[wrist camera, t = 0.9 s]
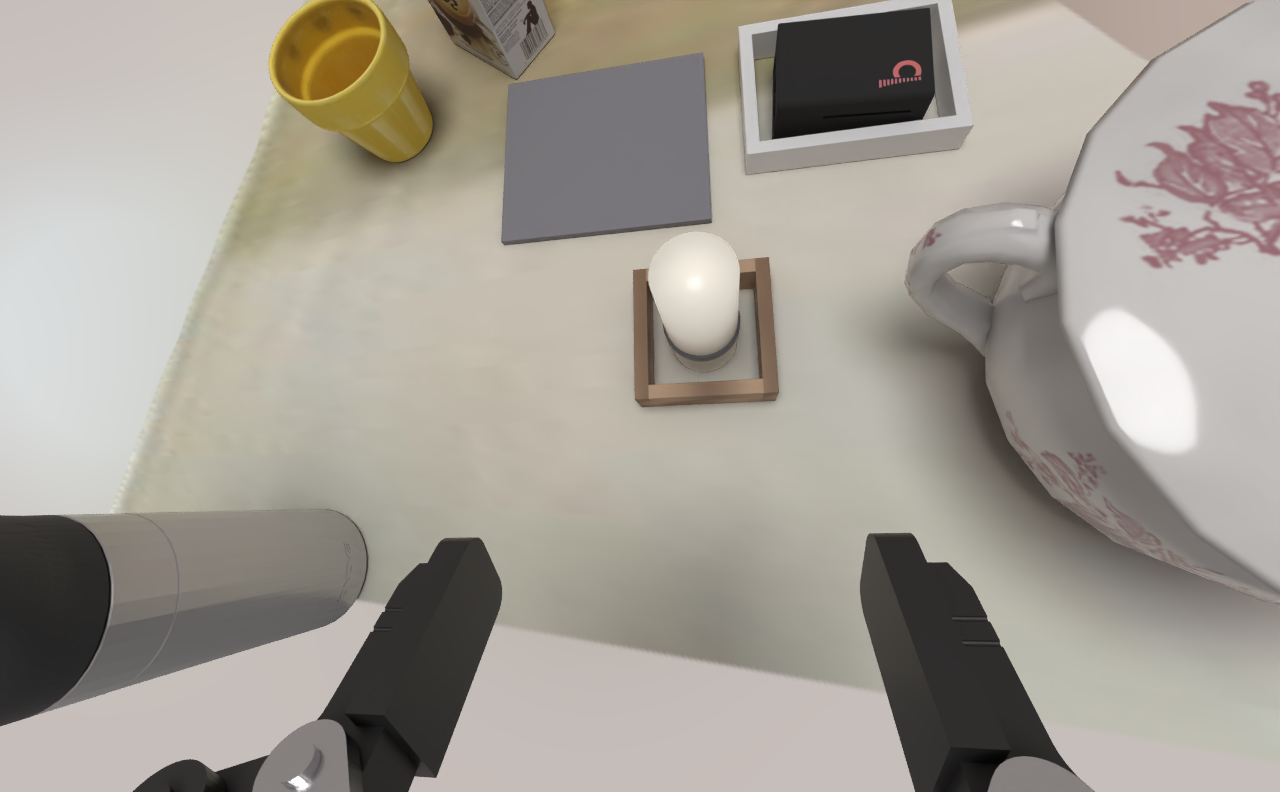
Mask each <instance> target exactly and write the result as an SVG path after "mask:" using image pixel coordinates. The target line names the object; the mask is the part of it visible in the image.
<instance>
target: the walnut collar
mask: <svg viewBox="0 0 1280 792" xmlns="http://www.w3.org/2000/svg"><path fill="white" fill-rule="evenodd" d="M738 262H739V267H740V280H739V289H751V288H754V300H755V315H756V330H757V345H758V360H759V375H760V379H748V380H730V381H712V382H694V383H675V384H657V385H654V345H653V299H652V297H653V295H652V292H651V290H650V286H649V281H648V272H649V269H639V270H633V294H634V370H635V400H636V401H637V402H638V403H639V404H640V405H641V406H642V407H650V406H671V405H692V404H713V403H734V402H755V401H775V400H776V397H777V395H778V393H779V387H778V374H777V360H776V347H775V333H774V320H773V306H772V293H771V279H770V266H769V257H766V258H755V259H744V260H738Z"/></svg>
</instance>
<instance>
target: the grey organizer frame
mask: <svg viewBox="0 0 1280 792" xmlns="http://www.w3.org/2000/svg"><path fill="white" fill-rule="evenodd" d="M920 8H930V15H931V32H932V48H933V65H934V81H935V95H936V101H937V108H938V114H939V118H932V119H925V120H917V121H910V122H902V123H895V124H887V125H880V126H872V127H864V128H857V129H849V130H842V131H834V132H827V133H819V134H812V135H804V136H797V137H789V138H781V139H774V140H766V141H760V140H759V127H758V113H757V100H756V86H755V73H754V60H756V59H762V58H769V57H775V49H776V39H777V29H778V24H779V23H788V22H797V21H807V20H816V19H826V18H835V17H845V16H854V15H863V14H873V13H882V12H892V11H901V10H911V9H920ZM738 59H739V74H740V89H741V104H742V119H743V134H744V149H745V164H746V175H748V174H756V173H764V172H772V171H780V170H789V169H797V168H805V167H813V166H821V165H829V164H838V163H846V162H854V161H862V160H870V159H879V158H887V157H895V156H903V155H911V154H920V153H928V152H936V151H944V150H952V149H959V147H960V146H961V144H962V143H963V141H964V139H965V138H966V136H967V135H968V133H969V132H970V130H971V129H972V127H973V126H974V124H973V118H972V113H971V107H970V101H969V96H968V90H967V84H966V79H965V73H964V67H963V62H962V56H961V50H960V45H959V39H958V33H957V28H956V22H955V16H954V11H953V5H952V0H890V1H884V2H879V3H873V4H867V5H861V6H855V7H849V8H843V9H838V10H832V11H826V12H820V13H814V14H808V15H803V16H797V17H791V18H785V19H779V20H773V21H768V22H762V23H756V24H750V25H744V26H739V28H738Z"/></svg>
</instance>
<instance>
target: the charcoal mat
mask: <svg viewBox="0 0 1280 792" xmlns="http://www.w3.org/2000/svg"><path fill="white" fill-rule="evenodd" d="M704 223H712V221H711V201H710V180H709V160H708V140H707V120H706V99H705V79H704V59H703V52H702V53H696V54H690V55H684V56H678V57H672V58H666V59H660V60H654V61H648V62H642V63H636V64H629V65H623V66H617V67H611V68H605V69H599V70H593V71H587V72H581V73H575V74H569V75H563V76H557V77H550V78H544V79H538V80H532V81H526V82H520V83H514V84H509V86H508V108H507V129H506V151H505V173H504V194H503V216H502V238H501V242H502V243H503V244H504V245H509V244H519V243H528V242H537V241H547V240H556V239H565V238H574V237H584V236H593V235H602V234H612V233H621V232H630V231H639V230H649V229H658V228H667V227H677V226H686V225H695V224H704Z"/></svg>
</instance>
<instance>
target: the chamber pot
mask: <svg viewBox="0 0 1280 792" xmlns="http://www.w3.org/2000/svg"><path fill="white" fill-rule="evenodd" d="M981 262H993V263H1003V264H1009V265H1008V267H1007V269H1006V270H1005V272H1004V274H1003V277H1002V280H1001V282H1000V285H999V288H998V291H997V293H996V296H995V299H994V301H993V304H992V303H991V302H990V300H989V299H988V298H986V297H984V296H982V295H981V294H979V293H977V292H975V291H973V290H971V289H969V288H967V287H965V286H963V285H961V284H960V283H958V282H956V281H955V280H954V279H953V278H952V277H951V276H950V274H949V273H948V271H950V270H952V269H954V268H956V267H958V266H960V265H962V264H964V263H981ZM905 285H906V288H907V290H908V293H909V295H910V296H911V297H912V299H913V300H914V301H915V302H916V303H917V304H918V305H919V306H920V307H921V308H922V309H923V311H924V312H925V313H926V314H927V315H928V316H930V317H931V318H933V319H935V320H937V321H938V322H940V323H942V324H944V325H945V326H947V327H949V328H951V329H952V330H954V331H956V332H958V333H959V334H960V335H962V336H963V337H964V338H965V339H966V340H968V341H969V342H970V343H971V344H972V345H973V346H974V347H975V348H976V349H977V350H978V351H979V352H980V353H981V354H982V355H983V356H984V357H985V365H986V384H987V387H988V389H989V392H990V395H991V397H992V400H993V403H994V405H995V408H996V410H997V413H998V416H999V418H1000V421H1001V424H1002V426H1003V429H1004V432H1005V434H1006V437H1007V440H1008V442H1009V443H1010V444H1011V445H1012V447H1013V448H1014V449H1015V450H1016V452H1017V453H1018V454H1019V456H1020V457H1021V458H1022V459H1023V461H1024V462H1025V463H1026V464H1027V466H1028V467H1029V468H1030V470H1031V471H1032V472H1033V473H1034V475H1035V476H1036V477H1037V478H1038V480H1039V481H1040V482H1041V483H1042V485H1043V486H1044V487H1045V489H1046V490H1047V491H1048V492H1049V494H1050V495H1051V496H1052V497H1053V498H1055V499H1056V500H1057V501H1059V502H1060V503H1061V504H1063V505H1064V506H1066V507H1067V508H1068V509H1070V510H1071V511H1072V512H1074V513H1075V514H1077V515H1078V516H1079V517H1081V518H1082V519H1083V520H1085V521H1086V522H1087V523H1089V524H1090V525H1092V526H1093V527H1094V528H1096V529H1097V530H1098V531H1100V532H1101V533H1103V534H1104V535H1105V536H1107V537H1108V538H1109V539H1111V540H1112V541H1113V542H1115V543H1118V544H1120V545H1123V546H1125V547H1128V548H1130V549H1133V550H1135V551H1138V552H1140V553H1143V554H1145V555H1148V556H1150V557H1153V558H1156V559H1158V560H1161V561H1163V562H1166V563H1168V564H1171V565H1173V566H1176V567H1178V568H1181V569H1183V570H1186V571H1188V572H1191V573H1193V574H1196V575H1199V576H1201V577H1204V578H1206V579H1209V580H1211V581H1214V582H1216V583H1219V584H1221V585H1224V586H1226V587H1229V588H1232V589H1234V590H1237V591H1239V592H1242V593H1244V594H1247V595H1249V596H1252V597H1254V598H1257V599H1260V600H1262V601H1266V602H1271V603H1276V604H1280V0H1256V1H1252V2H1249V3H1246V4H1244V5H1242V6H1240V7H1239V8H1237V9H1235V10H1234V11H1232V12H1230V13H1229V14H1228V15H1225V16H1224V17H1222V18H1220V19H1219V20H1217V21H1215V22H1214V23H1212V24H1210V25H1209V26H1207V27H1205V28H1204V29H1202V30H1200V31H1199V32H1197V33H1195V34H1194V35H1192V36H1190V37H1189V38H1187V39H1186V40H1184V41H1182V42H1180V43H1179V44H1177V45H1176V46H1174V47H1172V48H1170V49H1169V50H1167V51H1165V52H1164V53H1162V54H1161V55H1159V56H1157V57H1155V58H1154V59H1152V60H1151V61H1150V62H1149V63H1148V65H1147V66H1146V67H1145V68H1144V69H1143V70H1142V71H1141V73H1140V74H1139V75H1138V76H1137V77H1136V78H1135V79H1134V81H1133V82H1132V83H1131V84H1130V85H1129V86H1128V87H1127V89H1126V90H1125V91H1124V92H1123V93H1122V94H1121V95H1120V97H1119V98H1118V99H1117V100H1116V101H1115V102H1114V103H1113V105H1112V106H1111V107H1110V108H1109V109H1108V110H1107V111H1106V113H1105V114H1104V115H1103V116H1102V117H1101V118H1100V120H1099V121H1098V122H1097V123H1096V124H1095V125H1094V126H1093V128H1092V129H1091V130H1090V131H1089V132H1088V133H1087V135H1086V138H1085V140H1084V143H1083V146H1082V149H1081V151H1080V154H1079V157H1078V160H1077V162H1076V165H1075V168H1074V171H1073V173H1072V176H1071V179H1070V182H1069V185H1068V187H1067V190H1066V191H1065V193H1064V194H1063V195H1062V196H1061V197H1060V198H1059V199H1058V201H1057V202H1056V203H1055V204H1054V205H1053V206H1052V207H1051V209H1047V208H1044V207H1041V206H1033V205H1023V204H1012V203H1000V204H993V205H987V206H980V207H973V208H967V209H962V210H960V211H958V212H956V213H954V214H952V215H950V216H948V217H946V218H944V219H942V220H940V221H938V222H936V223H935V224H934V225H933V226H932V227H931V228H930V229H929V230H928V231H927V233H926V234H925V235H924V236H923V237H922V238H921V239H920V240H919V241H918V243H917V244H916V245H915V247H914V248H913V249H912V250H911V253H910V258H909V263H908V268H907V273H906V278H905Z"/></svg>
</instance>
